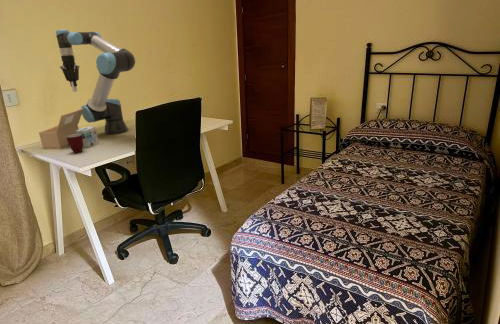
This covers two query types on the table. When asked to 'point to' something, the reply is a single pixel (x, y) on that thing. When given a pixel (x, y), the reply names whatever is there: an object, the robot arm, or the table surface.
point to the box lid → (69, 120)
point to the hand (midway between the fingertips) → (75, 91)
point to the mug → (75, 142)
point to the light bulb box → (88, 136)
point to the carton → (56, 137)
